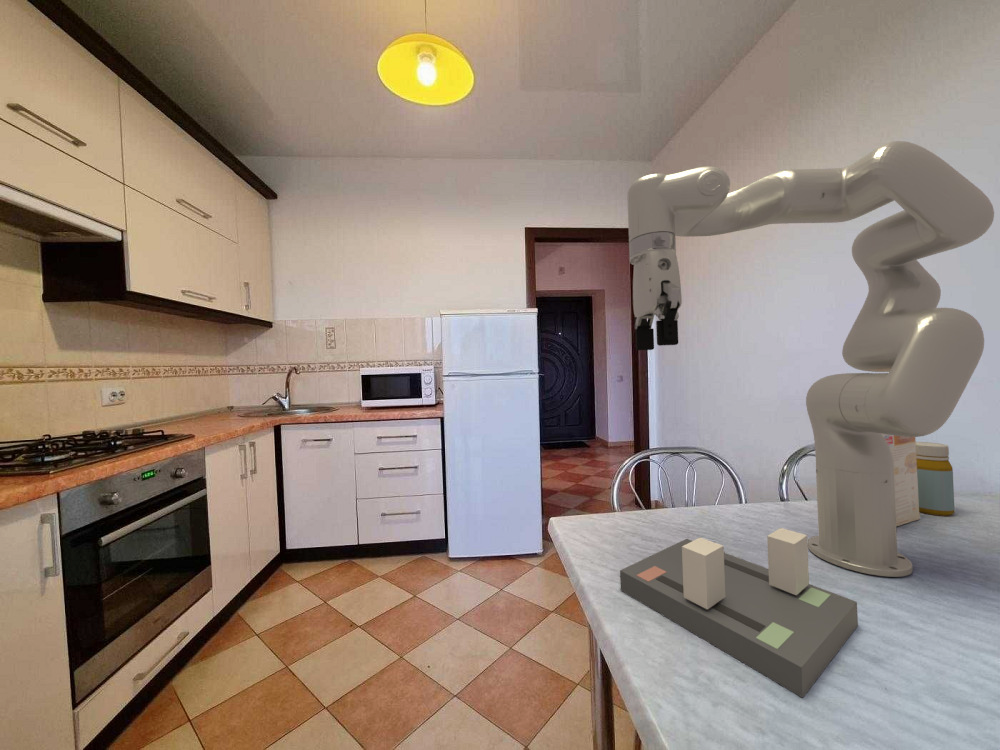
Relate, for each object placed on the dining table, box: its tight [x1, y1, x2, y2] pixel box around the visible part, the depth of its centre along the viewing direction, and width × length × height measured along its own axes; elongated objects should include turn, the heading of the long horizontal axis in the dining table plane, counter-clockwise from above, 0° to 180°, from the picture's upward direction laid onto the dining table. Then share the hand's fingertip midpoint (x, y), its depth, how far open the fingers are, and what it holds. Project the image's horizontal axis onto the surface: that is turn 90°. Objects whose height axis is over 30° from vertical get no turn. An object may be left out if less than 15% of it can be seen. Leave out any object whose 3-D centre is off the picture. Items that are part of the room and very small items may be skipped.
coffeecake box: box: [882, 434, 921, 527], centre depth 76 cm, size 15×7×20 cm, turn 110°
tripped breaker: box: [682, 537, 725, 610], centre depth 46 cm, size 4×3×7 cm
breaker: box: [766, 527, 810, 595], centre depth 48 cm, size 4×3×7 cm
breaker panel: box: [619, 538, 859, 698], centre depth 49 cm, size 18×22×3 cm
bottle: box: [916, 441, 956, 517], centre depth 80 cm, size 7×7×15 cm
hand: (655, 347), depth 62 cm, fingers open, 9 cm apart
